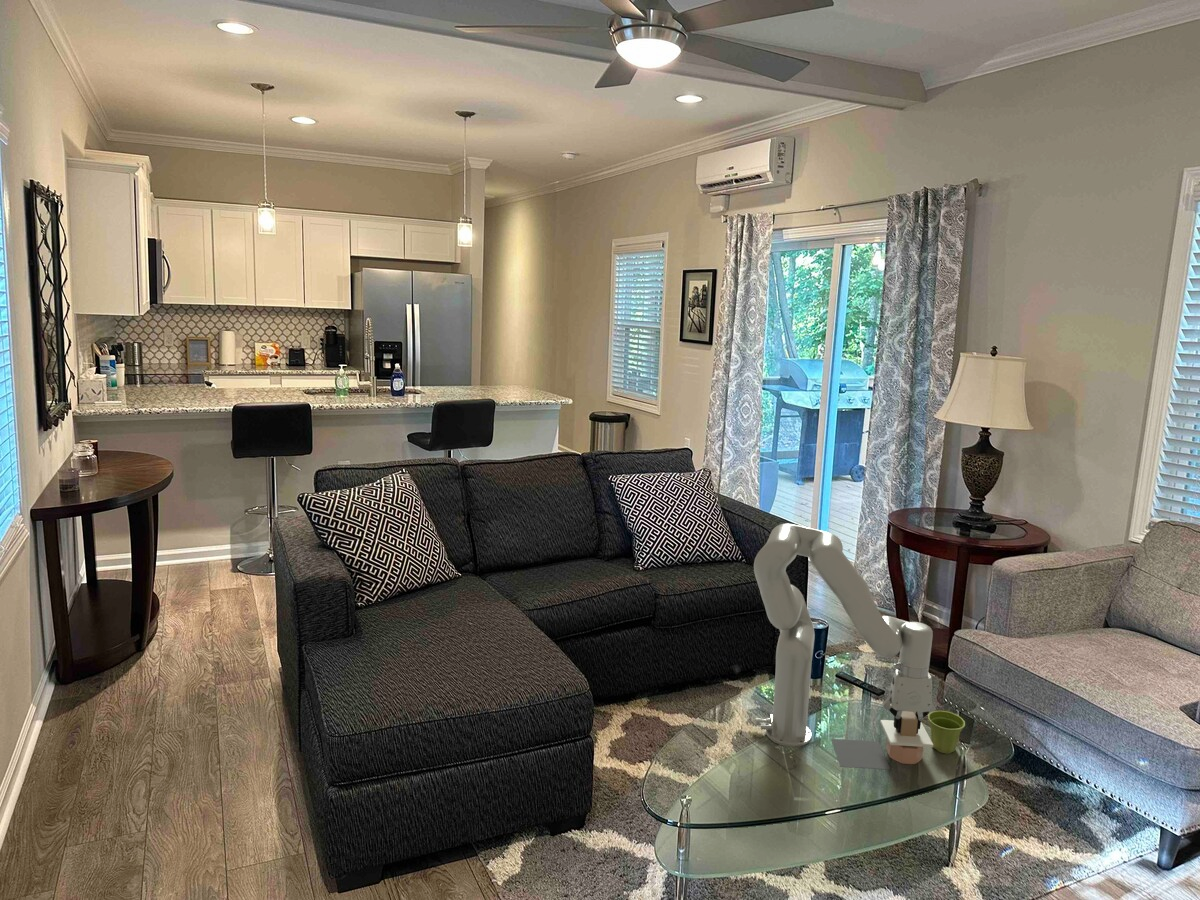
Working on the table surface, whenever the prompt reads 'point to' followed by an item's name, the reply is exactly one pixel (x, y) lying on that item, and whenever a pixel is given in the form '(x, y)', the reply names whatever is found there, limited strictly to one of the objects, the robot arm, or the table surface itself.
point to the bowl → (905, 753)
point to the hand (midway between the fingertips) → (906, 729)
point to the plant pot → (945, 730)
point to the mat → (860, 754)
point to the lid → (906, 732)
